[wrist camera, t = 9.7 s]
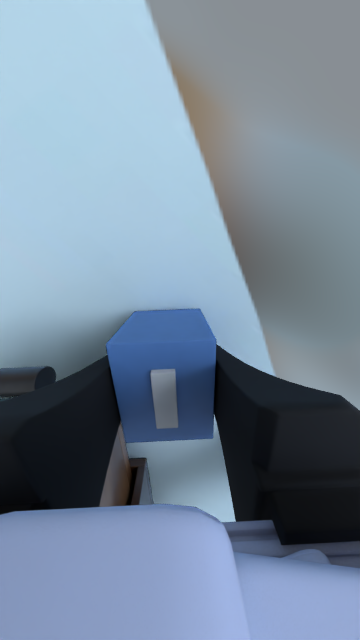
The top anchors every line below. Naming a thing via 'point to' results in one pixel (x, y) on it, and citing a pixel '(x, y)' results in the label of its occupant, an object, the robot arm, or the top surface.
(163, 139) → the top surface
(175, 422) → the tissue pack
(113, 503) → the drawer
